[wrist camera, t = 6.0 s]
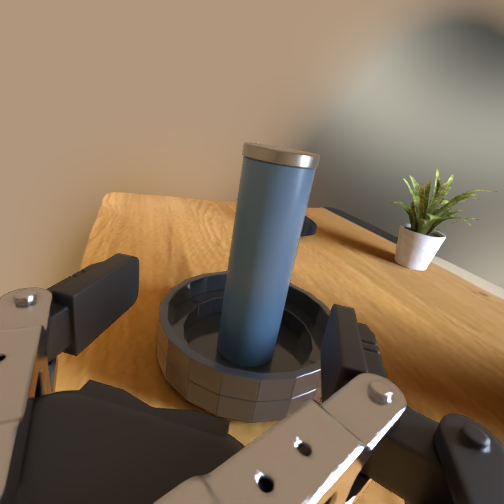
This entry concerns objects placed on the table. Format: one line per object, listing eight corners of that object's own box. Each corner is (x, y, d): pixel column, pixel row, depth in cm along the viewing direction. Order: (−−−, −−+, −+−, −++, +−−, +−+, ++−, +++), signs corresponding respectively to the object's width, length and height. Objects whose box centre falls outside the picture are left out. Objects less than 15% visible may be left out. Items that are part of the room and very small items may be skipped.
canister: (243, 322, 29) (274, 145, 23) (286, 350, 26) (333, 157, 20) (203, 343, 25) (227, 139, 20) (248, 378, 23) (292, 153, 17)
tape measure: (315, 240, 58) (320, 221, 56) (282, 239, 55) (286, 219, 54) (299, 228, 64) (303, 211, 62) (268, 226, 61) (272, 208, 60)
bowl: (240, 292, 35) (246, 260, 34) (356, 360, 27) (370, 322, 26) (121, 341, 25) (121, 298, 23) (253, 476, 17) (265, 424, 15)
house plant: (472, 297, 44) (527, 184, 38) (373, 271, 48) (410, 163, 42) (448, 263, 57) (486, 175, 51) (371, 245, 61) (399, 160, 55)
